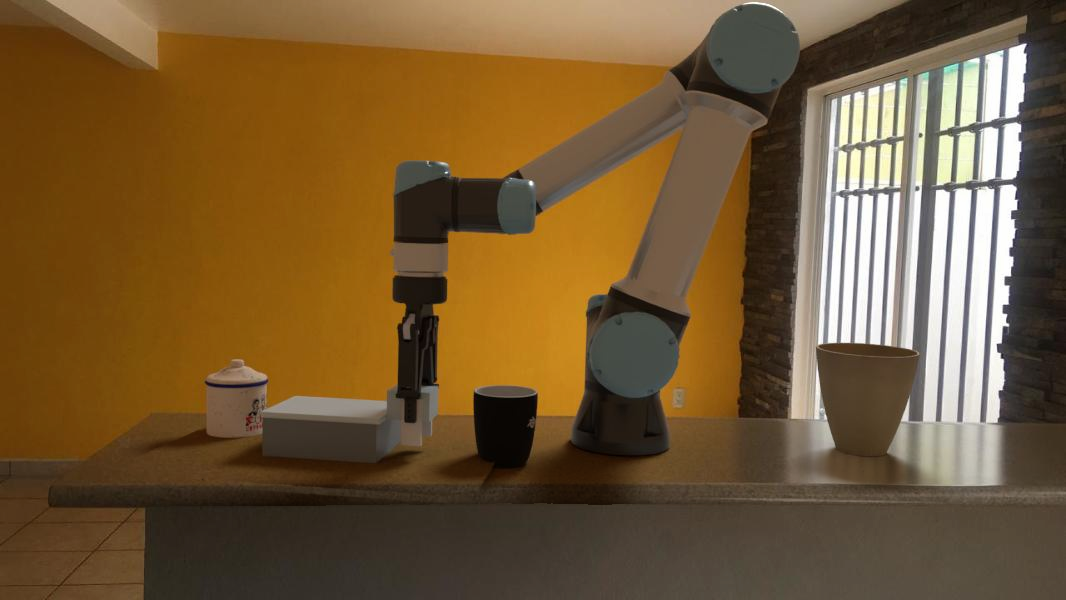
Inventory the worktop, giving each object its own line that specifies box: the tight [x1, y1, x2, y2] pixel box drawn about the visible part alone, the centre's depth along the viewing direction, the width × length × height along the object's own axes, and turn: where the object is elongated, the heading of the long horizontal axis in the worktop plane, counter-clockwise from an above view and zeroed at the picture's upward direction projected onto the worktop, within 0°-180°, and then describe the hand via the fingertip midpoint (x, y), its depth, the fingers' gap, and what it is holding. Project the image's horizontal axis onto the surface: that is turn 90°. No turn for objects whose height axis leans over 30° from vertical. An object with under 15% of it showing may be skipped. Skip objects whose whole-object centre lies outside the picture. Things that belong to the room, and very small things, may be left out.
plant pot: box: [815, 342, 921, 457], centre depth 133 cm, size 15×15×16 cm
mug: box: [472, 384, 539, 469], centre depth 122 cm, size 12×9×10 cm
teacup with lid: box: [204, 358, 269, 439], centre depth 133 cm, size 12×9×12 cm
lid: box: [261, 383, 439, 425], centre depth 122 cm, size 23×12×5 cm, turn 83°
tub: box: [261, 418, 402, 464], centre depth 123 cm, size 16×12×6 cm
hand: (417, 439), depth 121 cm, fingers closed on lid, 5 cm apart
